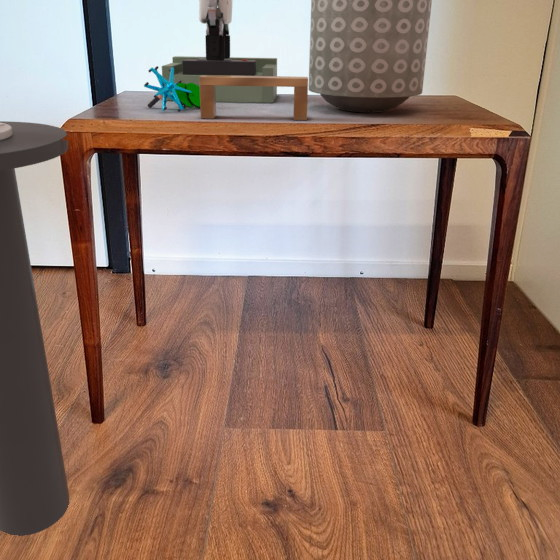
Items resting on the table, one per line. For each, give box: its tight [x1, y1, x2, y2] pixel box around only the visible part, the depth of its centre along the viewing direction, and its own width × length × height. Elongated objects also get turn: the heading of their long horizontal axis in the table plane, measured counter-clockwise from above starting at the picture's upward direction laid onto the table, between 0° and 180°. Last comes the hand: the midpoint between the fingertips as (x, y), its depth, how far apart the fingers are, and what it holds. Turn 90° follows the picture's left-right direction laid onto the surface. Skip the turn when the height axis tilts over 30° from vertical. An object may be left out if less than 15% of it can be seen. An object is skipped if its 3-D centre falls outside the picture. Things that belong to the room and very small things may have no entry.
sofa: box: [161, 55, 278, 104], centre depth 112 cm, size 12×20×7 cm, turn 87°
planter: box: [308, 0, 433, 113], centre depth 98 cm, size 19×19×18 cm
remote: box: [182, 58, 256, 76], centre depth 109 cm, size 13×5×3 cm, turn 89°
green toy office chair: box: [143, 65, 201, 113], centre depth 99 cm, size 12×7×8 cm
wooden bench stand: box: [199, 75, 309, 121], centre depth 90 cm, size 16×3×6 cm, turn 89°
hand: (218, 59), depth 108 cm, fingers open, 9 cm apart
